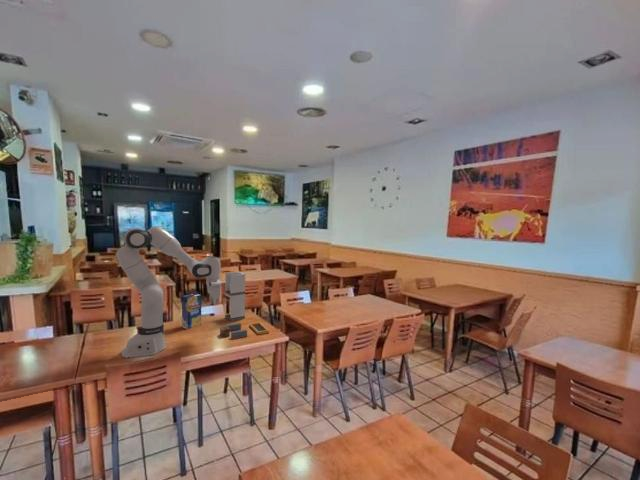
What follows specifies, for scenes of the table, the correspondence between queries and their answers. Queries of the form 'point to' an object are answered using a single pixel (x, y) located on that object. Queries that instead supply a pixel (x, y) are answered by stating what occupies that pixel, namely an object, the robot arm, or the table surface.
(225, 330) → the walnut block
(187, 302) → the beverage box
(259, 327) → the tray
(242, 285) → the grey toy tower
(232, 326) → the grey parallel walls
